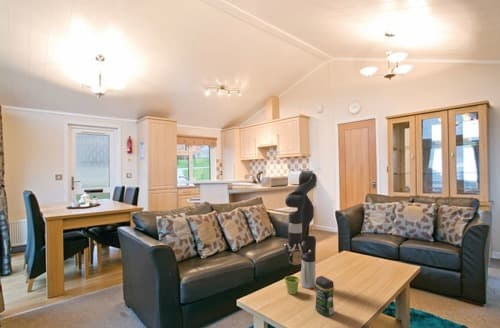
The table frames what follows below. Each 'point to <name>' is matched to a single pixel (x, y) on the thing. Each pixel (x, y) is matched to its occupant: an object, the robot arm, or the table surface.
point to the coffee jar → (324, 296)
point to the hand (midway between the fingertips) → (295, 261)
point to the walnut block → (296, 257)
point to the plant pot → (292, 284)
